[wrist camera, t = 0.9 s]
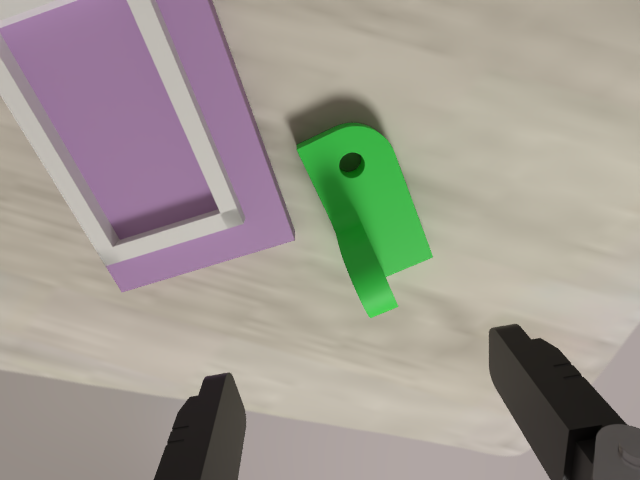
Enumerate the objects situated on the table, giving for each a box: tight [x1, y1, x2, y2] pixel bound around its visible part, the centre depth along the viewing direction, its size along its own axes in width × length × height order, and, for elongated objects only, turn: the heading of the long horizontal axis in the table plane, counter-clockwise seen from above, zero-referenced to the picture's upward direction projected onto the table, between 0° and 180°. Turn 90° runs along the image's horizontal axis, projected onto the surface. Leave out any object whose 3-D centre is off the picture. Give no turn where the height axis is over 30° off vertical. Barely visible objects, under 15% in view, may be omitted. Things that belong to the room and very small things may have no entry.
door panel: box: [0, 0, 295, 292], centre depth 25 cm, size 14×20×3 cm
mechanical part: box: [297, 123, 433, 318], centre depth 26 cm, size 12×6×8 cm, turn 24°
